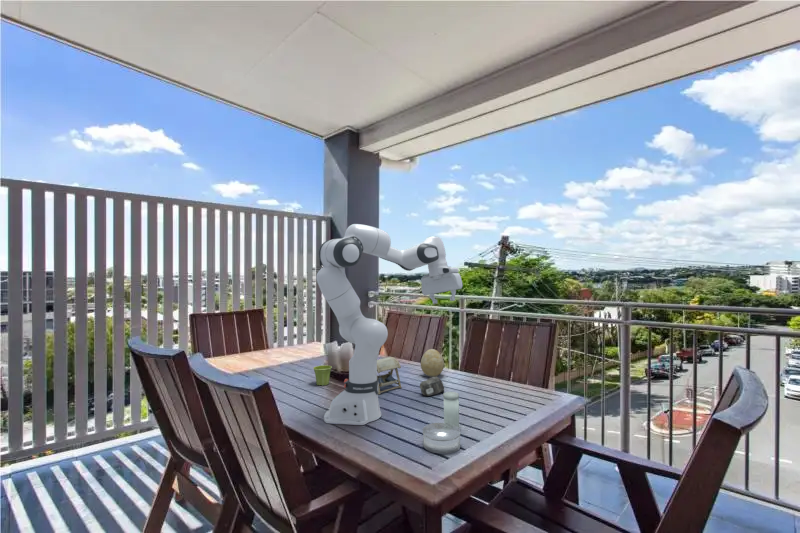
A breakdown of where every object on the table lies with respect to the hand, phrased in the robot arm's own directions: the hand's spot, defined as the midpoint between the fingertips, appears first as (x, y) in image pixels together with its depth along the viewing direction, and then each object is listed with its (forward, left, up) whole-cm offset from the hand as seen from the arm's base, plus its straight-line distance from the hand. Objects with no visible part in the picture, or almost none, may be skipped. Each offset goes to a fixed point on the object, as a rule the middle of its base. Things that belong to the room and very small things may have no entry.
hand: (443, 302), depth 167 cm
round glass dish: (-8, -44, -44) cm, 62 cm away
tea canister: (-2, -30, -43) cm, 53 cm away
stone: (-4, +9, -44) cm, 45 cm away
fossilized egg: (-1, +38, -44) cm, 58 cm away
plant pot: (-59, +28, -44) cm, 79 cm away
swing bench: (-27, +17, -44) cm, 54 cm away
